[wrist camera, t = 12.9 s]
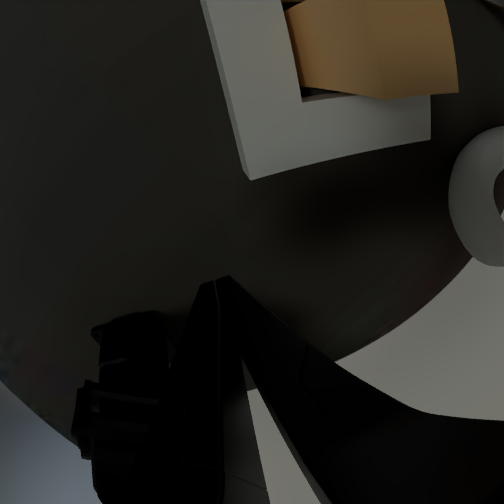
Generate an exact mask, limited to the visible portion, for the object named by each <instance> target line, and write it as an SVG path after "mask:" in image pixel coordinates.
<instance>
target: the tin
mask: <svg viewBox="0 0 504 504" xmlns="http://www.w3.org/2000/svg"><path fill="white" fill-rule="evenodd" d="M484 1H486V2H487V3H489V4H491V5H493V6H496V7H498V8H500V9H503V10H504V0H484Z"/></svg>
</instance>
